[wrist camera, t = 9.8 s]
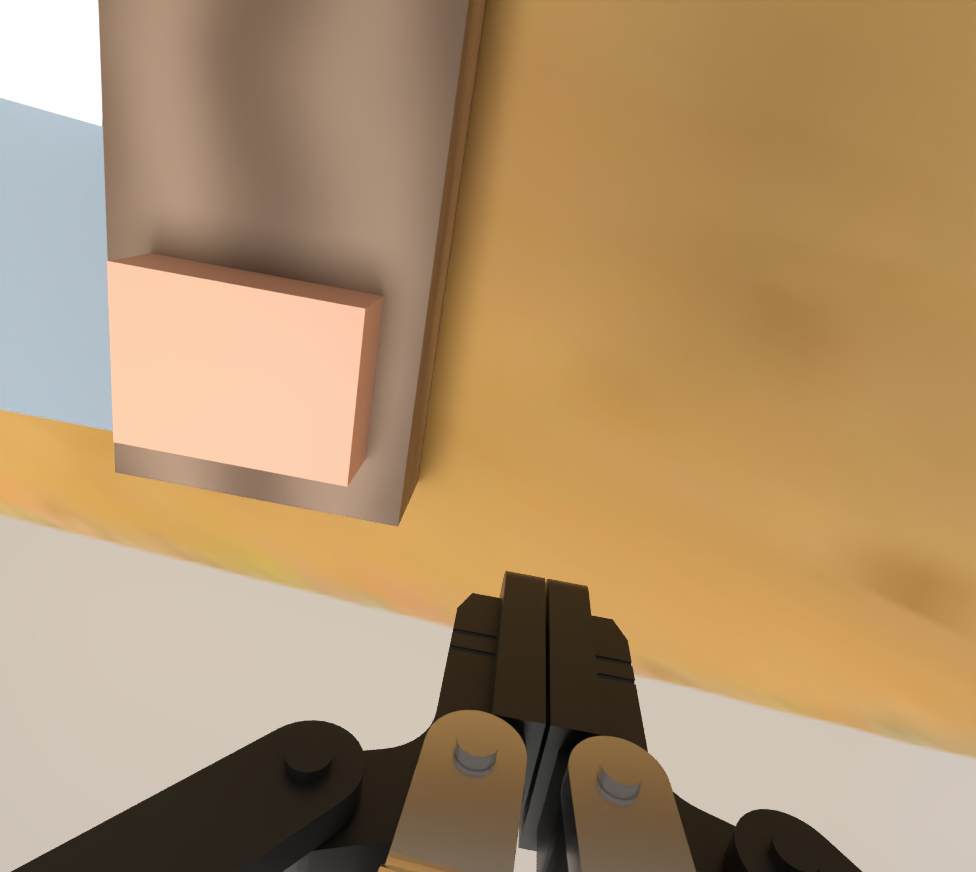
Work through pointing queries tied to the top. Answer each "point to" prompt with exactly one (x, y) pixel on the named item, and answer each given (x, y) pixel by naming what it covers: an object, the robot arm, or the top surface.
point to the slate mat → (53, 268)
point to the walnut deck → (298, 185)
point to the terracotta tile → (241, 366)
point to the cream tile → (52, 56)
